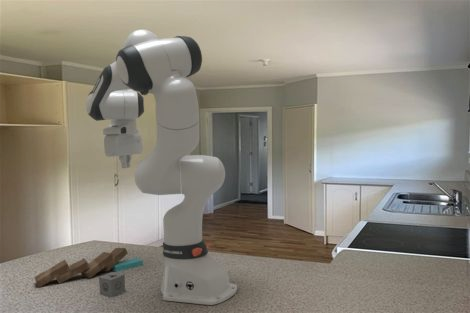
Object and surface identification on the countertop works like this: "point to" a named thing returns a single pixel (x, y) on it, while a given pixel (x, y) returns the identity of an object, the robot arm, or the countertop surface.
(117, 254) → the domino
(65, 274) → the domino
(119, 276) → the grey cube
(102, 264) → the domino
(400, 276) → the countertop surface
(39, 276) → the domino
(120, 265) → the domino
